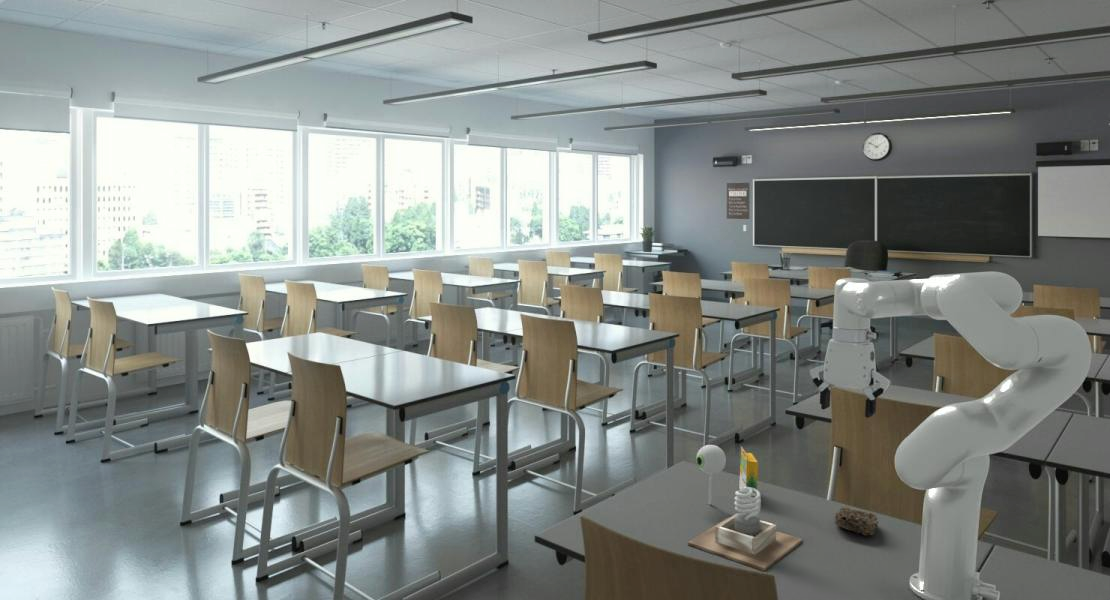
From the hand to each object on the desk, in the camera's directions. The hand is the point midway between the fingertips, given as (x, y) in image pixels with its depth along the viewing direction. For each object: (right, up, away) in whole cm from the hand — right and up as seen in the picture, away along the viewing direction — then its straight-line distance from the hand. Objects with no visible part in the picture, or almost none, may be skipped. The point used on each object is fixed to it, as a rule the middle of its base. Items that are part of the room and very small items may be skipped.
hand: (846, 412), depth 172 cm
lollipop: (-26, -26, +21) cm, 42 cm away
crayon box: (-15, -25, +27) cm, 40 cm away
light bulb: (-22, -28, -1) cm, 36 cm away
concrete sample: (+5, -28, +7) cm, 29 cm away
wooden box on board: (-22, -29, 0) cm, 36 cm away
